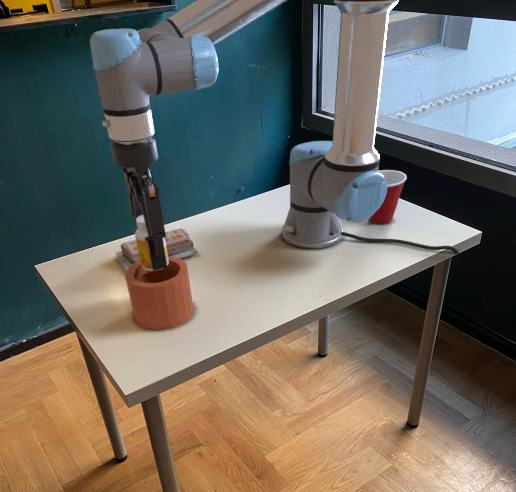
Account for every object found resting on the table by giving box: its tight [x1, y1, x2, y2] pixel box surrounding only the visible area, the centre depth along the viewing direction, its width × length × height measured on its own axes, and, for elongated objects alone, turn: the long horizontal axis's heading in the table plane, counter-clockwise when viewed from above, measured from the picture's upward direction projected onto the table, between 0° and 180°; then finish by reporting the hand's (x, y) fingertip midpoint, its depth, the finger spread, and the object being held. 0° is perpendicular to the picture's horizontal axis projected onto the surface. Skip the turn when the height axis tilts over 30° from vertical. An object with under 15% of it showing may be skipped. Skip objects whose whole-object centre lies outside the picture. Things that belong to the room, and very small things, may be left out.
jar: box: [124, 256, 194, 331], centre depth 104 cm, size 12×12×10 cm
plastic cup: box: [369, 169, 408, 225], centre depth 135 cm, size 11×11×12 cm
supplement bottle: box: [134, 215, 169, 271], centre depth 97 cm, size 5×5×10 cm
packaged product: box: [114, 228, 199, 272], centre depth 125 cm, size 18×5×10 cm
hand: (154, 261), depth 100 cm, fingers closed on supplement bottle, 5 cm apart
